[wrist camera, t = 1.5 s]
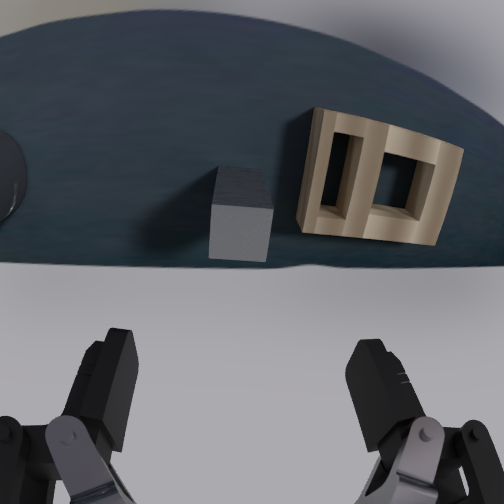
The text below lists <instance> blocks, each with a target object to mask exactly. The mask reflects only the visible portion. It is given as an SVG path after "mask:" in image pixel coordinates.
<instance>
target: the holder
mask: <svg viewBox="0 0 504 504" xmlns="http://www.w3.org/2000/svg"><path fill="white" fill-rule="evenodd" d="M334 132H339V133H344V134H349V135H350V137H349V143H348V148H347V153H346V158H345V163H344V168H343V173H342V178H341V183H340V187H339V192H338V196H337V201H336V205H335V206H328V205H320V203H321V198H322V193H323V188H324V183H325V178H326V173H327V168H328V163H329V157H330V152H331V146H332V141H333V135H334ZM463 151H464V149H462V148H460V147H457V146H455V145H452V144H450V143H447V142H445V141H442V140H439V139H436V138H433V137H430V136H427V135H424V134H421V133H418V132H414V131H411V130H408V129H405V128H401V127H398V126H394V125H390V124H387V123H383V122H379V121H375V120H371V119H367V118H363V117H359V116H355V115H350V114H346V113H341V112H336V111H331V110H326V109H321V108H315V107H314V112H313V119H312V125H311V132H310V138H309V144H308V150H307V156H306V162H305V168H304V174H303V179H302V185H301V191H300V196H299V202H298V207H297V213H296V220H297V222H298V224H299V226H300V228H301V231H302V233H314V234H325V235H336V236H346V237H357V238H367V239H377V240H387V241H396V242H406V243H415V244H424V245H433V246H435V243H436V241H437V238H438V235H439V232H440V230H441V227H442V224H443V221H444V218H445V215H446V212H447V209H448V206H449V203H450V199H451V196H452V193H453V189H454V186H455V182H456V179H457V175H458V171H459V168H460V164H461V160H462V156H463ZM384 152H388V153H392V154H396V155H400V156H404V157H408V158H412V159H416V160H417V164H416V168H415V172H414V176H413V180H412V184H411V188H410V191H409V195H408V199H407V202H406V205H405V209H403V208H397V207H390V206H384V205H377V204H372V201H373V197H374V194H375V190H376V185H377V181H378V177H379V173H380V169H381V164H382V160H383V155H384Z"/></svg>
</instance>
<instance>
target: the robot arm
mask: <svg viewBox="0 0 504 504" xmlns="http://www.w3.org/2000/svg"><path fill="white" fill-rule="evenodd" d="M26 182H27V175H26V167H25V162H24V158H23V156H22V153H21V151H20V149H19V147H18V145H17V144H16V143H15V141H14V140H13V139H12V138H11V137H10V136H8V135H7V134H5V133H3V132H0V221H1V220H3V219H4V218H6V217H7V216H8V215H9V214H10V213H11V212H13V211H14V210H15V209H16V208H17V207H18V206H19V205H20V203H21V202H22V200H23V197H24V194H25V190H26ZM138 365H139V363H138V356H137V351H136V346H135V342H134V337H133V333H132V331H131V330H126V329H117V328H110V329H109V331H108V333H107V336H106V338H105V341H104V342H102V341H95V342H94V343H93V344H92V345H91V346H90V347H89V348H88V349H87V350H86V353H85V355H84V357H83V360H82V362H81V365H80V367H79V370H78V372H77V373H78V374H77V375H76V377H75V380H74V383H73V386H72V388H71V391H70V394H69V397H68V399H67V403H66V405H65V408H64V411H63V413H62V414H61V416H59V417H57V418H55V419H53V420H52V421H51V422H50V423H49V424H47V425H30V426H21V425H20V424H19V422H18V421H17V420H16V419H14V418H12V417H10V416H1V417H0V504H53V497H54V490H55V484H56V480H62V481H63V483H64V485H65V487H66V489H67V491H68V493H69V496H70V498H71V501H70V504H136V502H135V501H134V499H133V498H132V496H131V495H130V493H129V492H128V490H127V489H126V487H125V486H124V484H123V483H122V481H121V479H120V478H119V476H118V474H117V473H116V471H115V469H114V468H113V466H112V464H111V462H110V459H111V454H112V451H117V452H122V447H123V441H124V436H125V431H126V426H127V420H128V416H129V411H130V406H131V402H132V397H133V393H134V388H135V384H136V380H137V375H138V367H139V366H138ZM345 377H346V382H347V385H348V389H349V391H350V395H351V398H352V401H353V404H354V407H355V411H356V414H357V417H358V420H359V424H360V427H361V430H362V434H363V437H364V440H365V443H366V447H367V450H368V452H372V451H378V450H379V453H380V456H379V457H378V459H377V461H376V463H375V466H374V468H373V470H372V472H371V474H370V477H369V479H368V481H367V483H366V485H365V487H364V489H363V491H362V493H361V495H360V497H359V499H358V500H357V501H356V502H355V504H504V471H503V468H502V465H501V463H500V460H499V458H498V455H497V452H496V449H495V447H494V444H493V442H492V439H491V437H490V435H489V432H488V430H487V428H486V427H485V425H484V424H482V423H481V422H480V421H477V420H470V421H468V422H466V423H465V424H464V425H463V426H462V427H461V428H451V427H442V426H441V424H440V423H439V422H438V421H437V420H435V419H433V418H431V417H427V416H426V415H425V413H424V411H423V409H422V406H421V404H420V402H419V400H418V398H417V395H416V393H415V391H414V389H413V387H412V384H411V383H410V382H409V381H410V380H409V378H408V376H407V374H405V370H404V368H403V366H402V364H401V362H400V360H399V359H398V358H397V357H396V356H395V355H394V354H393V353H392V352H387V351H386V348H385V346H384V344H383V342H382V341H381V340H380V339H366V340H365V339H364V340H360V341H359V342H358V343H357V345H356V347H355V350H354V352H353V354H352V356H351V358H350V360H349V362H348V364H347V367H346V372H345ZM461 466H462V468H463V471H464V474H465V477H466V480H467V484H468V487H469V494H468V496H467V495H466V492H465V489H464V485H463V482H462V479H461V476H460V472H459V468H460V467H461Z"/></svg>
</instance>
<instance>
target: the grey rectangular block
mask: <svg viewBox="0 0 504 504" xmlns="http://www.w3.org/2000/svg"><path fill="white" fill-rule="evenodd" d="M273 211H274V208H273V205H272V202H271V199H270V196H269V193H268V190H267V187H266V184H265V181H264V178H263V175H262V172H261V169H253V168H242V167H230V166H218V172H217V177H216V183H215V189H214V195H213V200H212V210H211V226H210V244H209V258H215V259H230V260H245V261H260V262H266V256H267V250H268V244H269V237H270V231H271V224H272V218H273Z"/></svg>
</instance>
